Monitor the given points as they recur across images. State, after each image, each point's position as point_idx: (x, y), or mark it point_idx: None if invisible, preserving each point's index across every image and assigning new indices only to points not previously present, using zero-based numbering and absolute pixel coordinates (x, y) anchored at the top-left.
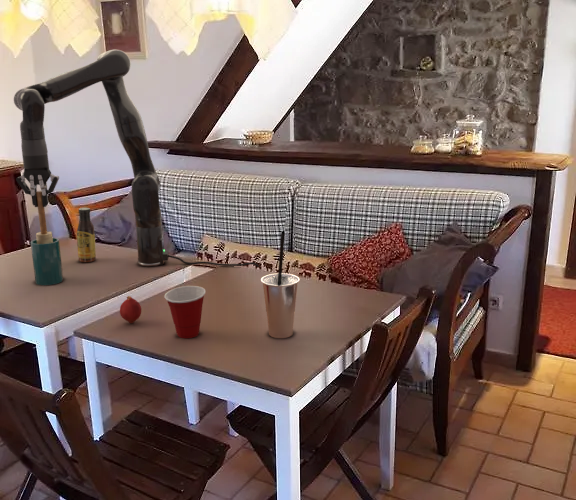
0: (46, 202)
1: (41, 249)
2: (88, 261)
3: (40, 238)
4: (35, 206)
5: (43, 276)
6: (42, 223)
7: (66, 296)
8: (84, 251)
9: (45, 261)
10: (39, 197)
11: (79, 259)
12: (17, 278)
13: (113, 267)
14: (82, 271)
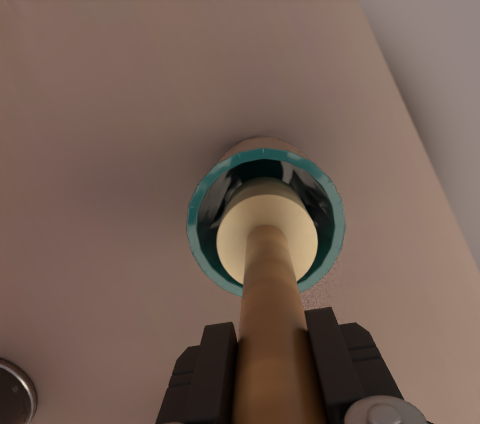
0: (182, 367)
1: (252, 147)
2: None
3: (269, 190)
4: (321, 308)
5: (258, 138)
6: (260, 250)
7: (116, 16)
8: None
9: (241, 145)
10: (262, 397)
11: None
12: (398, 209)
13: (102, 346)
14: (191, 299)
